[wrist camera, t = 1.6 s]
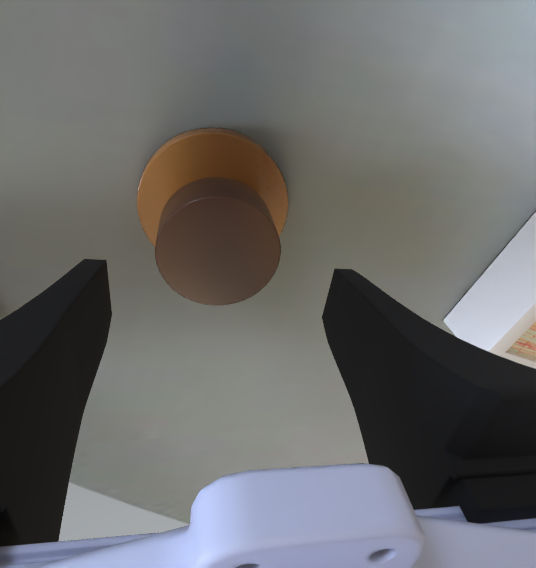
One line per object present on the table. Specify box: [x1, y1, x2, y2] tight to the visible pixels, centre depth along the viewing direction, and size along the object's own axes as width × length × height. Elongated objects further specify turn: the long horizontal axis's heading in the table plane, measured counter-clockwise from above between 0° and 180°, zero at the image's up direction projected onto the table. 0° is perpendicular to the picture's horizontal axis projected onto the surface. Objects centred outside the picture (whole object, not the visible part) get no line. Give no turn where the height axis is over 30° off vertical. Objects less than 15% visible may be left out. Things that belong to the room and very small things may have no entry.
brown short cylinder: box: [155, 177, 281, 305], centre depth 16 cm, size 5×5×2 cm
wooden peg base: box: [137, 128, 288, 246], centre depth 18 cm, size 7×7×3 cm
